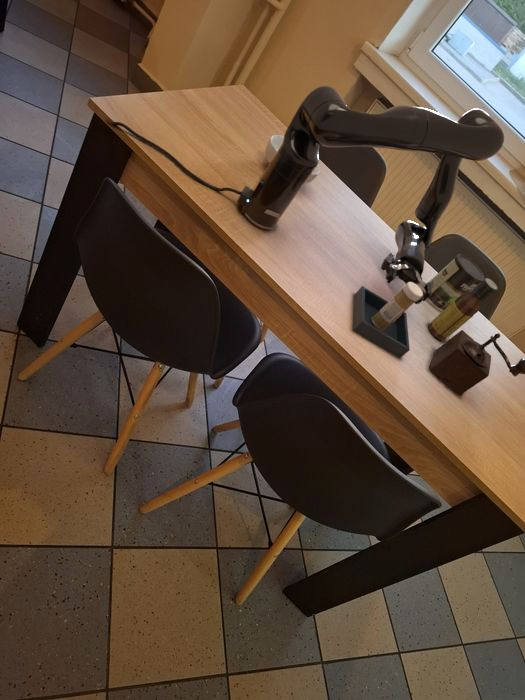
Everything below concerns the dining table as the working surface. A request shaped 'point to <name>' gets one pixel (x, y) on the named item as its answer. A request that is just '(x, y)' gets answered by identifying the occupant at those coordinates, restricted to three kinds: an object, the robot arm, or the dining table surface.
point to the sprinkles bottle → (397, 306)
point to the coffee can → (454, 281)
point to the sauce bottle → (461, 310)
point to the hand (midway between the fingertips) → (404, 291)
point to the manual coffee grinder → (467, 362)
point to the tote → (388, 339)
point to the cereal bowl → (274, 147)
